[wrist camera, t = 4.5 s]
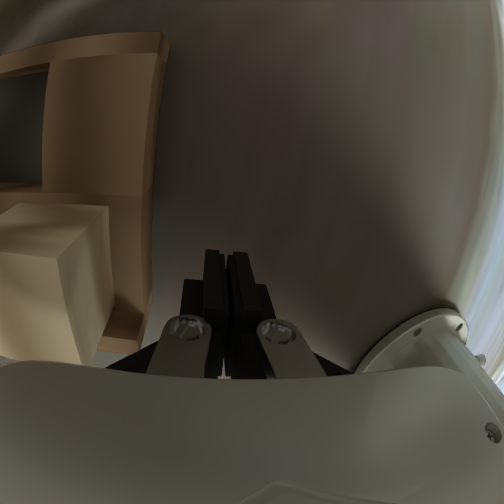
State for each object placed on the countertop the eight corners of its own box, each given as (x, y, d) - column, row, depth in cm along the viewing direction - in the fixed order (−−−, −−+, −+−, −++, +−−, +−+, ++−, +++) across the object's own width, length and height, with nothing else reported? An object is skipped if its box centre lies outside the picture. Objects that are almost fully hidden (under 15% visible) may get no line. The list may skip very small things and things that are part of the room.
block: (108, 206, 11) (56, 258, 7) (115, 303, 14) (86, 377, 9) (20, 202, 11) (-45, 246, 6) (35, 291, 13) (-8, 352, 8)
